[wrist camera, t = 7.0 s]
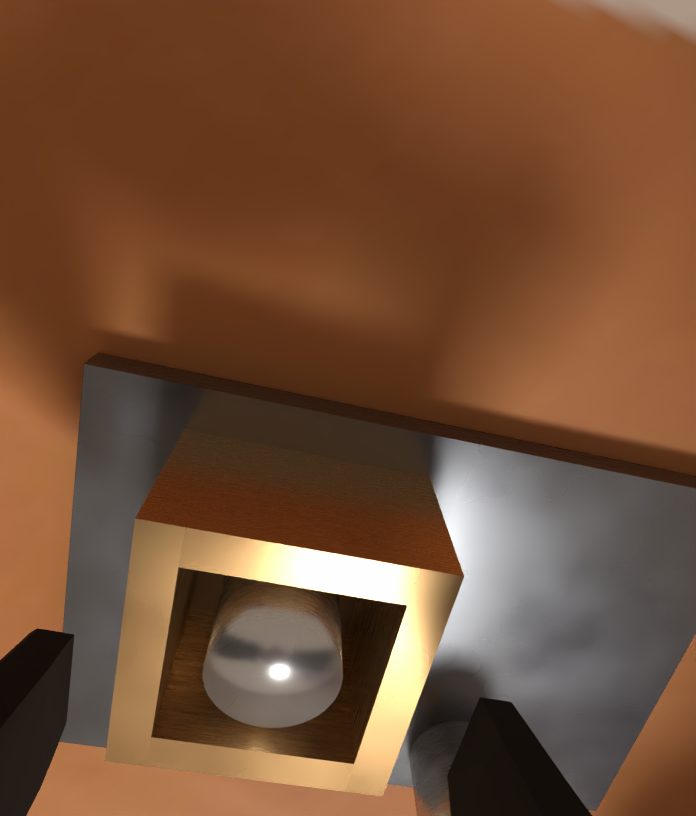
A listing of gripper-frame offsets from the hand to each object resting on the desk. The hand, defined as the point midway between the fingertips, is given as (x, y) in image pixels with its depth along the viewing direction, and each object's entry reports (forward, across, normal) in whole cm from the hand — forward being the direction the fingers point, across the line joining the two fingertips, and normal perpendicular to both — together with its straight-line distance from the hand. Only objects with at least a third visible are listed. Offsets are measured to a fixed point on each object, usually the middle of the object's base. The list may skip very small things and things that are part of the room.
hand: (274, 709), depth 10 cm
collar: (+4, 0, 0) cm, 4 cm away
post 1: (+5, 0, 0) cm, 5 cm away
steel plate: (+5, -3, +1) cm, 6 cm away
